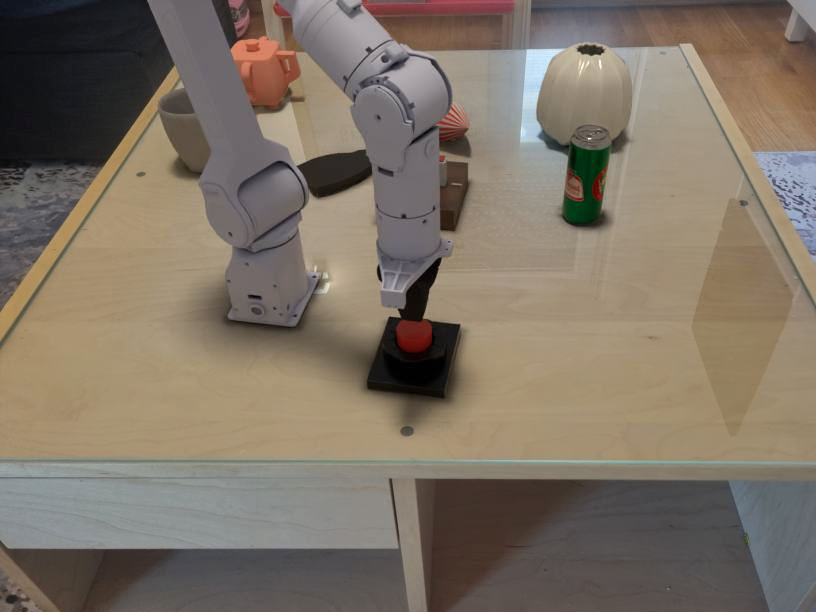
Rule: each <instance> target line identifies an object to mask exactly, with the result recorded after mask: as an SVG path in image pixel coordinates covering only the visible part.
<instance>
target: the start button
mask: <svg viewBox="0 0 816 612" xmlns="http://www.w3.org/2000/svg"><path fill="white" fill-rule="evenodd" d="M425 319H426V318H423V320H422V322H414V321H406V320H402V321H401V322H400V323H399V324H398V325H397V328H396V331H397V343H398V346H399V347H400V348H401V349H402V350H404V351H406V352H410V353H419V352H422V351H425V350H426V349H428V348H429V347H430V345H431V344H432V327H431V324H430V323H429V322H428V321H427V320H425Z"/></svg>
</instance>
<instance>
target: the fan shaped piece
mask: <svg viewBox="0 0 816 612" xmlns="http://www.w3.org/2000/svg"><path fill="white" fill-rule="evenodd" d="M296 166H297V168H298V169H299V170H300V171H301V173H302V174H303V176H304V178H305V180H306V182H307V185H308V188H309V189H311V190H312V191H314V193H315V194H316V196H317V197H319V198H323V197H326V196H329V195H333V194H336V193H339V192H342V191H345V190H348V189H349V188H351V187H353V186H357V184H359V183H361V182H363V181H364V180H366V179H367V178H368V177H369V176H370V175H373V174H372V163H371V162H370V160H369V157H368V156H366V148H363V149H356V150H355V151H351V152H337V153H336V152H335V153H329V154H324V155H320V156H316V157H313V158H311V159H309V160H307V161H304V162H302V163H300V164H298V165H296Z"/></svg>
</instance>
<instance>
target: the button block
mask: <svg viewBox="0 0 816 612" xmlns="http://www.w3.org/2000/svg"><path fill="white" fill-rule="evenodd" d="M424 319H425V320H427V321H428V322H429V323H430V324H431V327H432V344H431V345H430V347H429V348H428V349H426V350H425V351H422V352H419V353H410V352H406V351H404V350H402V349H401V348H400V347H399V346H398V343H397V331H396V328H397V325H398V324H399V323H400V322H401V321H402V318H401V316H400V317H399V316H388V318H387V321H386V324H385V327H384V330H383V332H382V335H381V338H380V341H379V344H378V346H377V350H376V353H375V355H374V358H373V360H372V364H371V367H370V369H369V372H368V375H367V377H366V388H367V389H369V390H375V391H376V390H377V391H385V392H391V393H399V394H400V393H401V394H408V395H416V396H424V397H432V398H433V397H434V398H441V399H445V398H446V393H447V389H448V386H449V381H450V378H451V373H452V369H453V366H454V365H453V364H454V361H455V357H456V352H457V349H458V344H459V339H460V335H461V330H462V329H461V328H462V327H461V326H462V325H461V324H460V323H453V322H452V323H451V322H443V321H435V320H431V319H429V318H424Z"/></svg>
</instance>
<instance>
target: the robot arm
mask: <svg viewBox="0 0 816 612" xmlns="http://www.w3.org/2000/svg"><path fill="white" fill-rule="evenodd" d="M146 1H147V4H148V5H149V9H150V10H151V13H152V15H153V17H154V20H155V22H156V25H157V27H158V29H159V31H160V34H161V36H162V38H163V41H164V43H165V45H166V48H167V51H168V53H169V55H170V57H171V60H172V62H173V65H174V67H175V69H176V71H177V73H178V76H179V78H180V80H181V83H182V85H183V88H185V90H186V93H187V95H188V97H189V100H190V102H191V104H192V107H193V109H194V111H195V114H196V116H197V118H198V121H199V123H200V125H201V128H202V130H203V132H204V135H205V137H206V139H207V142H208V144H209V146H210V149H211V155H210V157H209V159H208V162H207V164H206V166H205V168H204V170H203V172H202V173H201V174H200V176H199V179H198V184H197V185H198V186H199V189H200V190H201V193H202V196H203V200H204V206H205V216H206V218H207V221H208V223H209V225H210V227H211V229H212V230H213V231H214V232H215V234H216V235H217V236H218V237H219V238H220V239H221V240H222V241H223V242H225V243H227V244H228V245H230V246H231V257H230V261H229V262H228V264H227V267H226V269H225V273H224V280H225V284H226V288H227V292H228V295H229V299H230V303H231V305H232V307H231V308H230V310H229V312H228V314H227V318H228V320H230V321H238V322H246V323H255V324H262V325H263V324H264V325H272V326H273V325H274V326H281V327H288V328H294V327H296V326H297V325H298V324H299V321H300V319H301V318H302V316H303V314H304V311H305V309H306V307H307V305H308V303H309V301H310V299H311V296H312V294H313V293H314V291H315V288H316V286H317V284H318V282H319V281H320V279H321V274H320V272H318V271H309V270H307V269H306V268H307V267H306V262H305V257H304V251H303V246H302V239H301V234H300V229H299V224H300V223H301V222H302V221H303V215H302V210H304V209H305V208H306V207H307V206H308V204H309V201H310V190H309V189H310V188H309V186H308V185H307V182H306V180H305V178H304V176H303V174H302V173H301V171H300V170H299V169H298V168H297V165H296V163H295V162H294V160H293V158H292V156H291V153H290V150H289V148H288V147H287V146H286V145H285V144H282V143H280V142H278V141H275V140H272V139H268V138H265V137H264V135H263V132H262V129H261V126H260V124H259V121H258V118H257V116H256V113H255V110H254V108H253V105H251V103H250V100H249V98H248V95H247V92H246V90H245V87H244V84H243V82H242V79H241V77H240V74H239V71H238V69H237V66H236V64H235V61H234V58H233V56H232V53H231V48H230V45H229V42H228V40H227V37H226V34H225V32H224V29H223V27H222V25H221V22H220V19H219V17H218V14H217V12H216V9H215V6H214V3H213V1H212V0H146ZM274 1H275V2H276V3H277V5H279V6H280V7H281V8H282V9H283V10H284V11H285V12H287V13H288V15H290V17H291V22H292V23H291V24H292V35H293V39H294V41H295V43H296V44H297V45H298V46H299V47H300V48H301V49H302V50H303V51H304V52H305V54H307V55H308V57H309V58H310V59H311V60H312V61H313V62H314V63H315V64H316V65H317V66H318V67H319V68H320V69H321V70H322V71H323V72H324V73H325V74H326V76H327V77H328V78H329V79H330V80H331V81H332V82H333V83H334V85H336V86H337V88H339V89H340V90H341V92H342V93H343V94H345V96H346V97H347V98H348V99H349V100H350V102H352V104H353V105H350V106H349V109H350V115H351V118H352V121H353V124H354V125H355V128H356V129H357V131H358V132H359V134H360V135H361V137H362V139H363V142H364V145H365V149H366V156H368V157H369V160H370V162H371V163H372V174H371V175H372V183H373V196H374V208H375V209H374V211H375V219H376V220H375V221H376V231H377V238H376V242H375V247H376V254H377V261H378V264H377V267H376V277H377V279H378V281H379V282H380V283H381V285H380V292H379V293H380V302H381V307H382V308H389V309H396V310H397V311H398V314H399V316H400V318H402V320H406V321H414V322H422V320H423V319H424V316H425V313H426V309H427V307H428V306H427V305H428V301H429V296H430V291H431V288H432V287H433V286H434V283H435V281H436V280H437V277H438V273H439V270H440V268H439V267H440V266H441V263H442V260H443V258H445V259H448V258H450V257H451V256H452V254H453V251H454V240H452V239H450V238H443V236H442V233H441V229H440V171H439V155H440V141H439V126H434V125H436V124H437V123H439V122H440V121H441V120H442V119H443V118H444V117H445V116H446V115H447V114H448V113H449V111H450V109H451V106H452V100H453V101H454V95H453V94H454V93H453V88H452V84H451V81H450V78H449V77H448V75H447V73H446V72H445V70H444V69H443V67H442V66H441V64H440V63H439V61H438V60H437V58H436V57H435V56H433V55H431V54H430V53H427V52H425V51H421V50H415V49H412V48H410V47H409V46H408V45H407V44H403V43H398V42H397V41H396V39H394V37H393V36H392V35H391V34H390V33H389V32H388V31H387V30H386V29H385V28H384V27H383V26H382V24H380V23H379V21H377V19H376V18H375V17H374V16H373V15H372V14H371V12H370V11H368V10H367V9H366V7H365V6H364V5H363V1H362V0H274Z"/></svg>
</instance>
